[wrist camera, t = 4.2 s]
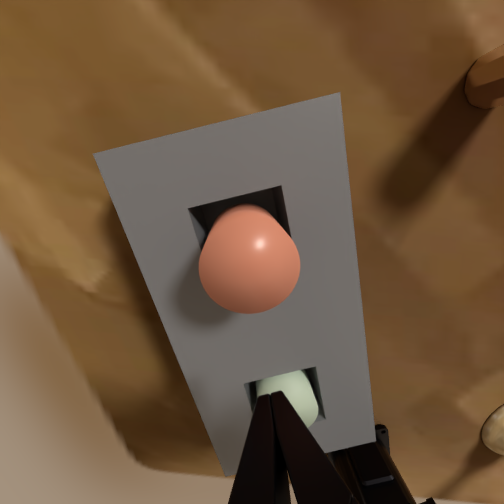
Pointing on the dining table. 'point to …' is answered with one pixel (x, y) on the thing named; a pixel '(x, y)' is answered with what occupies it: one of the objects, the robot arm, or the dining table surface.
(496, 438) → the hand bell
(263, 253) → the terracotta plug
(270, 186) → the console
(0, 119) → the dining table surface
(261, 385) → the sage plug
